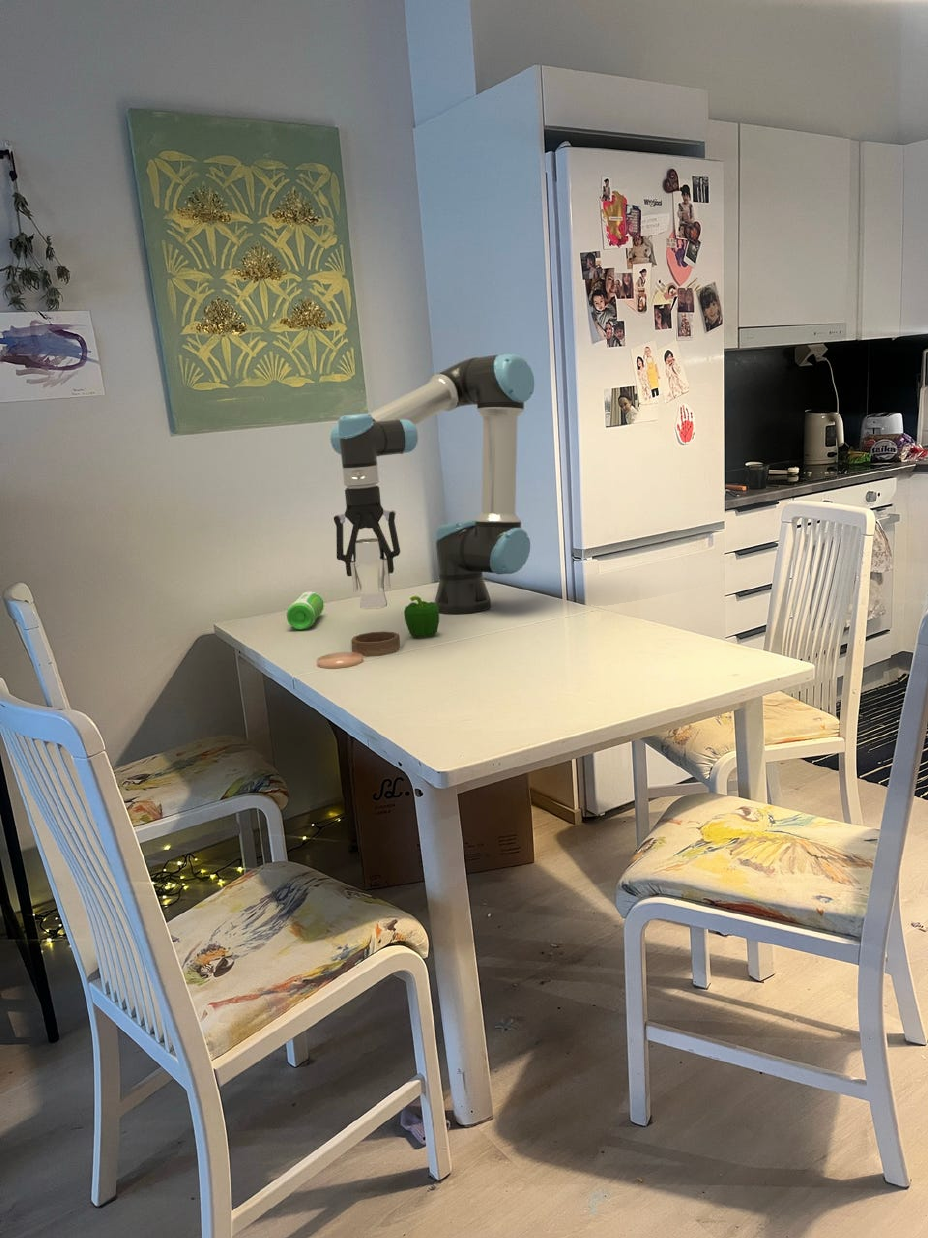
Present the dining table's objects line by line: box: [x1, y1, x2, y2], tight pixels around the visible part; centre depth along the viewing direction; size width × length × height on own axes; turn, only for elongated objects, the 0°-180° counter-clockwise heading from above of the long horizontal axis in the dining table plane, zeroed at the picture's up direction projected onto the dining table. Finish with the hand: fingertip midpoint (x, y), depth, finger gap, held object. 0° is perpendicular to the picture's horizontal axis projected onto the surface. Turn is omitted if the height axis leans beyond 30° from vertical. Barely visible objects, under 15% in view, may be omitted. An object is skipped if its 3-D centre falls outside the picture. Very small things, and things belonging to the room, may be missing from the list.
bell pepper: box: [404, 595, 440, 639], centre depth 227 cm, size 8×8×10 cm
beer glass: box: [352, 537, 388, 610], centre depth 214 cm, size 7×7×15 cm
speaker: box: [286, 590, 325, 631], centre depth 250 cm, size 18×7×8 cm, turn 179°
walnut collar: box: [350, 631, 401, 657], centre depth 217 cm, size 11×11×3 cm
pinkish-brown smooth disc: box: [316, 651, 364, 670], centre depth 209 cm, size 10×10×1 cm
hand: (372, 588), depth 215 cm, fingers closed on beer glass, 7 cm apart
